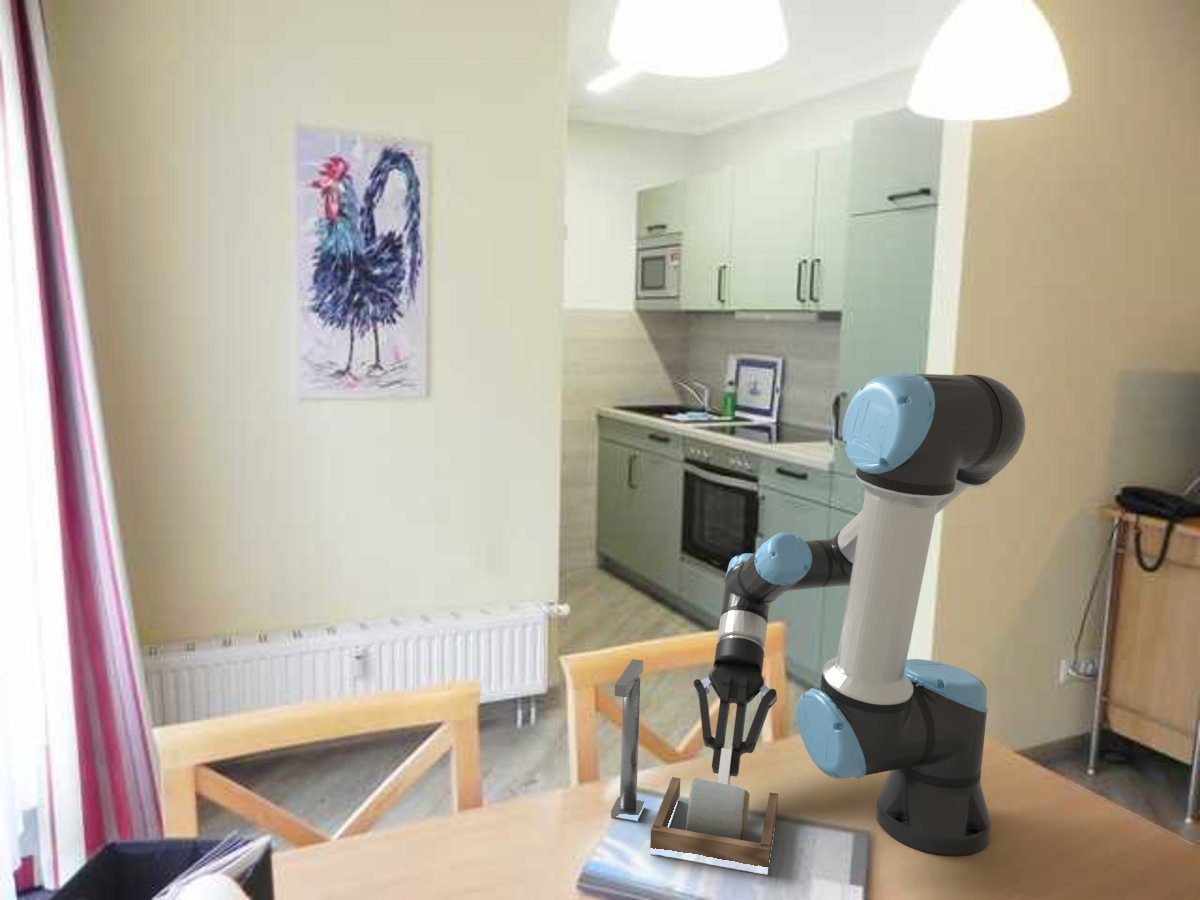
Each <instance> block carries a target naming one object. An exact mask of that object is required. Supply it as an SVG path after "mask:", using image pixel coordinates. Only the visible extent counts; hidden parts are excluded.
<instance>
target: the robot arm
mask: <svg viewBox="0 0 1200 900" xmlns="http://www.w3.org/2000/svg"><path fill="white" fill-rule="evenodd" d="M1025 434H1026V417H1025V413H1024V410H1023V406H1022V404H1021V403H1020V400H1019V399H1018V397H1017V396H1016V395H1015V393H1013V391H1012V390H1011V389H1009V388H1008V386H1006V384H1004V383H1001V381H999V380H997V379H994V378H993V377H988V376H986V375H985V376H984V375H980V374H939V373H938V374H934V373H933V374H932V373H911V372H905V373H903V372H902V373H899V374H891V375H889V374H888V375H881V376H878V377H874V378H873V379H871V380H869V381H867V382H866V385H864V386H861V387H860V388H859V389H858V390H857V391H856V393H855V394H854V396H853V397H852V399H851V400H850V402H849V404H848V407H847V410H846V412H845V416H844V418H843V425H842V442H843V443H844V444H846V446H845V448H844V450H845V454H846V456H847V459H848V460H849V461H850V463H852V465H853V466H854V467H856V471H855V477H856V479H857V481H858V482H859V483H860V485H861V486H863V488H864V490H865V493H864V499H863V503H862V504H863V505H862V510H861V511H860V512H858V513H857V514H856V515H855V516H854V517H853V518H852V519H851V520H850V521H849V522H848V523H847V524H846V525H845V526H844V527H843V528H842V529H841V530H840V531H838V533H837V534H835V535H834V536H833V537H832V538H829V539H827V538H826V539H813V540H804V539H803V538H801V537H800V536H797V535H794V534H792V533H790V532H780V533H779V532H778V533H777V534H775V535H773V536H771V537H770V538H769V539H768V540H767V541H764V542H763V543H762V544H761V545H760V546H759V547H758V548H757V550H755V552H753V553H742V554H740V555H735V556H734V557H732V558H731V560H730V561H729V563H728V566H727V571H726V574H725V577H724V578H725V579H724V588H723V589H724V590H723V598H722V606H721V614H720V619H719V623H718V624H719V625H718V631H717V643H716V646H715V655H714V660H713V667H712V669H711V670H710V672H709V673H708V677H706V678H703V679H701V680H700V679H698V678H697V679H696V678H695V680H694V681H693V687H694V691H695V693H696V695H697V697H698V700H699V709H700V721H701V723H700V724H701V730H702V738H703V743H704V746H705V747H706V748H710V749H712V750H713V754H712V762H711V769H712V773H713V774H717V783H721V784H726V785H731V777H736V778H737V777H738V775H739V773H740V765H741V764H740V763H741V757H742V755H743V754H747V753H748V754H752V753H754V752H755V748H756V747H757V743H758V740H759V737H760V735H761V732H762V730H763V728H764V723H766V722H765V721H766V718H767V716H768V713H769V710H770V709H771V708H772V707H773V706H774V705H775V703H776V702H777V699H778V695H777V690H776V689H775V688H770V687H768V686H767V685H766V684H765V680H764V677H763V667H764V666H763V665H764V659H765V658H764V657H765V650H764V648H766V639H767V631H768V629H767V628H768V622H769V621H768V619H769V610H770V605H771V603H773V602H774V601H776V600H777V599H778V598H779V597H780V596H782V595H783V594H784V593H786V592H789V591H799V590H808V589H809V590H810V589H821V588H831V587H843V586H849V587H848V592H847V597H846V601H845V602H846V603H845V609H844V615H843V620H842V625H841V632H840V637H839V643H838V649H837V655H836V656H835V657H833V658H831V659H830V660H828V661H826V663H824V665H823V668H822V673H821V679H820V685H819V688H813V687H812V688H810V689H808V690H807V691H806V692H804V693H802V694H801V695H800V697H799V700H798V701H797V708H796V709H797V710H796V712H797V713H796V719H797V726H798V731H799V733H800V737H801V740H802V742H803V745H804V748H805V750H806V752H807V753H808V755H809V757H810V759H811V761H812V762H813V763H814V764H815V766H816V767H817V768H818V769H819V770H821V772H822V773H824V774H825V775H827V776H828V777H831V778H833V779H837V780H839V779H840V780H843V779H844V780H845V779H853V778H854V779H861V778H863V777H865V776H869V775H874V774H880V773H885V772H888V775H887V776H886V779H885V780H884V783H883V785H882V787H881V790H880V792H879V793H878V796H877V802H876V811H875V812H876V813H875V815H876V817H875V818H876V821H877V823H878V825H879V827H881V828H882V829H883V831H884V832H886V833H887V834H888V835H889V836H890V837H892V838H894V839H895V840H897V841H898V842H901V843H902V844H904V845H906V846H909V847H911V848H913V849H917V850H920V851H922V852H927V853H932V854H937V855H943V856H944V855H945V856H964V855H965V856H966V855H971V854H972V855H973V854H975V853H978V852H980V851H982V850H983V849H985V848H986V847H987V845H989V843H990V839H991V826H992V825H991V818H990V814H989V810H988V807H987V802H986V799H985V795H984V792H983V787H982V784H981V780H982V779H981V775H982V767H983V756H984V743H985V734H986V733H985V732H986V723H987V715H988V714H987V713H988V710H989V709H988V708H987V694H988V693H987V688H986V685H985V683H984V682H983V681H982V679H980V678H979V677H978V676H976V675H975V674H973V673H971V672H969V671H967V670H965V669H962V668H959V667H957V666H955V665H951V664H947V663H943V662H941V661H940V662H939V661H934V660H929V659H920V658H919V659H918V658H910V659H909V658H908V655H909V650H910V644H911V640H912V636H913V629H914V625H915V619H916V614H917V610H918V606H919V605H918V604H919V600H920V594H921V591H922V590H921V589H922V584H923V579H924V574H925V570H926V564H927V559H928V554H929V548H930V545H931V539H932V533H933V529H934V523H935V518H936V515H937V514H939V513H940V512H941V511H942V510H944V509H945V508H946V506H948V505H949V504H950V503H952V502H953V501H954V500H955V499H956V498H957V497H959V496H960V495H961V494H962V493H964V491H966V490H967V489H968V488H969V487H979V486H983V485H985V484H986V483H988V482H989V481H991V480H992V478H994V477H995V476H996V475H997V474H999V473H1000V472H1001V471H1002V470H1003V469H1005V468H1006V467H1007V465H1008V464H1009V463H1010V462H1011V461H1012V460H1013V459H1014V458H1015V456H1016V455H1017V454H1018V451H1019V450H1020V448H1021V445H1022V444H1023V441H1024V436H1025ZM710 687H712V688H713V690H714V692H715V694H716V695H717V697H718V698H719V707H718V715H717V722H716V729H715V735H714V736H712V735H713V734H712V726H711V719H710V716H711V715H710V709H709V701H708V700H709V699H708V694H710V691H711V690H710V689H711V688H710ZM759 693H760V696H759V697H760V702H759V704H758V706H757V709H756V712H755V715H754V718H753V720H752V722H751V725H750V729H749V731H748V733H747V735H746V739H745V741H744V730H745V722H746V716H747V715H746V713H747V708H748V707H747V706H748V704H749V703H750V702H751V701H753V699H755V697H756V696H757V695H758V694H759ZM731 704H736V710H735V711H736V712H735V718H734V719H735V720H734V727H733V737H732V743H731V745H732V747H731V748H725V743H726V734H727V727H728V718H729V712H730V710H731V709H730V707H731Z"/></svg>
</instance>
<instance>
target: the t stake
mask: <svg viewBox="0 0 1200 900" xmlns="http://www.w3.org/2000/svg"><path fill="white" fill-rule="evenodd" d="M643 672H644V660H643V659H635V658H634V659H633V658H632V659H631V660H630V661H629V664H628V665H627V666H626V667H625V669H624V670H623V672H622V674H621V675H620V676H619V678H618V680H616V682H615V683H614V697H618V698H619V697H621V698H622V711H621V712H622V714H621V715H622V716H621V745H620V746H621V747H620V748H621V749H620V750H621V753H620V779H619V781H620V784H619V785H620V786H619V787H620V788H619V796H617V798H616V800H615V802H614V805H613V806H612V808H611V810H610V818H613V819H615V818H614V817H616V816H618V815H619V814H628V815H639V813H640V811H641V809H642V807H643V804H644V802H645V800H640V799H639V800H638V795H637V794H638V770H639V769H638V768H639V767H638V765H639V764H638V763H639V736H640V735H639V733H640V726H639V725H640V705H641V704H640V703H641V702H640V701H641V699H640V698H641V693H640V692H641V678H640V677H641V676H642V675H641V674H642V673H643ZM645 803H646V802H645Z"/></svg>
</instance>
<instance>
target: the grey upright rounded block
mask: <svg viewBox="0 0 1200 900" xmlns="http://www.w3.org/2000/svg"><path fill="white" fill-rule="evenodd" d="M691 781H692V782H691V785H690V791H689V796H688V799H689V800H688V805H687V807H688V808H687V815H686V827H685V828H686V829H685V830H686V831H692V832H697V833H703V834H709V835H715V836H720V837H726V838H732V839H738V840H745V841H746V836H747V828H748V827H747V826H748V818H749V817H748V816H749V807H750V806H749V805H750V792H749V791H748V790H746V789H745V788H742V787H739V786H735V785H732V784H730V785H726V784H721V783H717V782H716V781H713V780H706V779H702V778H698V777H697V778H696V777H694V778H693V779H692V780H691Z"/></svg>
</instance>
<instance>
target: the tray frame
mask: <svg viewBox="0 0 1200 900" xmlns="http://www.w3.org/2000/svg"><path fill="white" fill-rule="evenodd" d="M679 797H680V798H681V777H674V776H672V777H671V779H670V782H669V785H668V787H667V789H666V792H665V795H664V797H663V799H662V801H661V804H660V806H659V809H658V811H657V814H656V817H655V819H654V822H652V826H651V828H650V841H649V843H650V844H649V845H650V846H649V847H650V848H653V849H655V848H656V849H664V850H672V851H677V852H683V853H692V854H698V855H703V856H706V857H713V858H717V859H722V860H729V861H735V862H739V863H743V864H750V865H754V866H758V865H759V866H762V867H769V868H770V866H769V860H770V861H771V859H770V854H771V855H772V853H771V847H772V848H773V846H772V840H773V834H774V835H775V833H774V828H775V829H776V827H775V822H776V823H777V820H776V816H777V817H778V806H779V805H778V804H779V803H778V802H779V793H776V792H770V791H769V794H768V798H767V807H766V811H765V816H764V824H763V828H762V835H761V838H760V839H761V840H760V842H756V841H755V842H753V841H748V840H745V841H744V840H738V839H732V838H726V837H720V836H715V835H709V834H703V833H697V832H692V831H686V829H678V828H673V827H670V828H668V827H667V826H668V823H669V820H670V818H671V815H672V813H673V810H674V807H675V805H676V802H677V800H678V798H679ZM773 841H774V840H773ZM650 848H649V849H650Z"/></svg>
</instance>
